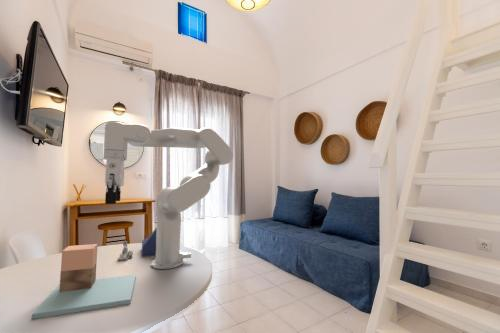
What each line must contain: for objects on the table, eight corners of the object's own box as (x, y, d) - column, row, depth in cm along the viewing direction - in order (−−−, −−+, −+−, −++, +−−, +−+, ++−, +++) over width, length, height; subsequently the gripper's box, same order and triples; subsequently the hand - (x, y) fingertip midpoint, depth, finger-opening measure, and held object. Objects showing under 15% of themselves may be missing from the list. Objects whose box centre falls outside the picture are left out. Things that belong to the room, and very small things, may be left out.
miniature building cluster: (138, 261, 100) (139, 243, 100) (115, 263, 98) (116, 244, 98) (142, 255, 109) (142, 238, 109) (121, 256, 106) (122, 239, 107)
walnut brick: (95, 280, 78) (96, 262, 78) (91, 288, 72) (92, 268, 73) (66, 284, 75) (67, 265, 75) (59, 292, 70) (60, 271, 70)
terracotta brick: (96, 262, 78) (97, 243, 78) (92, 268, 73) (93, 248, 73) (67, 265, 75) (68, 245, 75) (60, 271, 70) (62, 250, 70)
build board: (135, 278, 83) (135, 274, 83) (130, 303, 66) (130, 299, 66) (59, 287, 75) (59, 283, 75) (31, 319, 58) (31, 314, 58)
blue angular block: (141, 248, 117) (142, 224, 117) (167, 246, 122) (168, 223, 123) (142, 256, 106) (143, 229, 107) (169, 253, 111) (170, 227, 112)
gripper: (123, 154, 80) (121, 204, 79) (129, 158, 96) (127, 200, 95) (98, 153, 77) (95, 205, 76) (108, 157, 93) (106, 200, 92)
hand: (113, 202), depth 86 cm, fingers open, 9 cm apart
